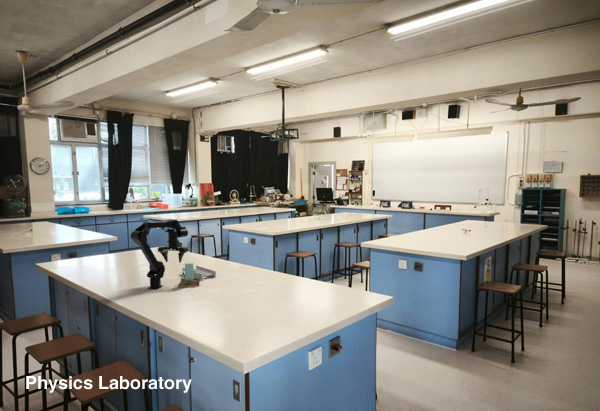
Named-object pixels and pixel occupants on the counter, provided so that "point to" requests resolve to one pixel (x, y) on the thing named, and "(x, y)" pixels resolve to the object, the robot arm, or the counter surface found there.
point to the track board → (189, 282)
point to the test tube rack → (203, 272)
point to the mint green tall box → (189, 271)
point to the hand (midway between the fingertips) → (173, 262)
